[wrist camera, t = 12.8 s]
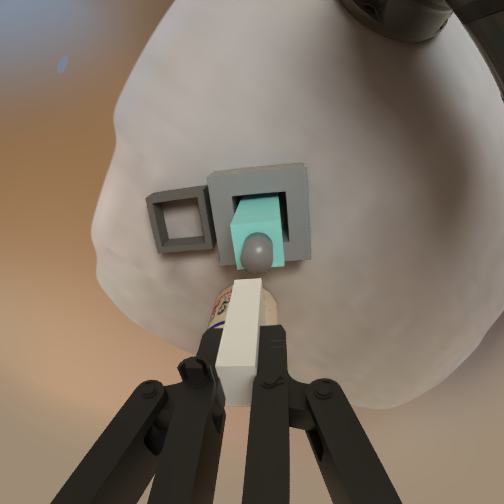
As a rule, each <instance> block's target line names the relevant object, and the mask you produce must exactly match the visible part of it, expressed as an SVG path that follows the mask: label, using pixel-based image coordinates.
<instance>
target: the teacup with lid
mask: <svg viewBox="0 0 504 504" xmlns="http://www.w3.org/2000/svg"><path fill="white" fill-rule="evenodd" d="M232 289H233V285H231V286H229V287H227V288H226V289H224V290H223V291H222V292H221V293H220V294H219V296H218V297H217V300H216V302H215V306H214V309H213V312H212V316H211V319H210V322H209V326H208V329H209V328H224V324H225V320H226V315H227V311H228V307H229V302H230V298H231V294H232ZM262 289H263V298H264V307H265V317H266V319H265V326H267V325H278V309H277V304H276V301H275V299H274V297H273V296H272V295H271V294H270V293H269V292H268V291H267V290H266V289H264V288H262ZM208 329H207V330H208Z"/></svg>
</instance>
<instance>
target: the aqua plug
mask: <svg viewBox="0 0 504 504" xmlns="http://www.w3.org/2000/svg"><path fill="white" fill-rule="evenodd" d="M230 228H231V234H232V240H233V247H234V253H235V259H236V265H237V270H243V269H245V270H246V271H248V272H249V273H252V274H262V273H265V272H266V271H268V270H269V269H270V268H271V267H280V266H285V263H284V251H283V239H282V228H281V218H280V207H279V197H278V192H271V193H259V194H248V195H243V196H242V198H241V200H240V203H239V205H238V207H237V210H236V212H235V215H234V217H233V219H232V222H231V224H230Z"/></svg>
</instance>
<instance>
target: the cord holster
mask: <svg viewBox="0 0 504 504" xmlns="http://www.w3.org/2000/svg"><path fill="white" fill-rule="evenodd" d="M194 197H198V203H199V209H200V215H201V221H202V226H203V232H204V236H199V237H188V238H178V239H169V238H168V233H167V229H166V224H165V220H164V215H163V210H162V205H161V202H164V201H172V200H179V199H186V198H194ZM146 203H147V208H148V212H149V217H150V221H151V226H152V230H153V234H154V239H155V243H156V247H157V251H158V253H167V252H180V251H192V250H205V249H213V248H214V245H215V243H216V241H217V239H216V233H215V227H214V221H213V215H212V209H211V202H210V196H209V189H208V185H205V186H197V187H190V188H183V189H176V190H169V191H163V192H156V193H153V194H151V195H149V196H148V197H146Z"/></svg>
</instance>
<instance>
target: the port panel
mask: <svg viewBox="0 0 504 504" xmlns="http://www.w3.org/2000/svg"><path fill="white" fill-rule="evenodd" d="M207 181H208V188H209V195H210V201H211V207H212V214H213V220H214V226H215V232H216V238H217V244H218V250H219V256H220V262H221V266H225V265H236V259H235V253H234V247H233V240H232V234H231V228H230V224H231V222H232V219H233V217H234V215H235V212H236V210H237V207H238V198H237V196H238V195H248V194H259V193H271V192H283V191H285V200H286V212H287V226H288V229H283V230H282V239H283V251H284V261H296V260H309V259H311V240H310V215H309V196H308V180H307V168H306V167H305V165H304V164H303V163H297V164H283V165H270V166H259V167H249V168H240V169H231V170H222V171H214V172H213V173H212V174H211V175H209V176H208V177H207Z"/></svg>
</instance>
